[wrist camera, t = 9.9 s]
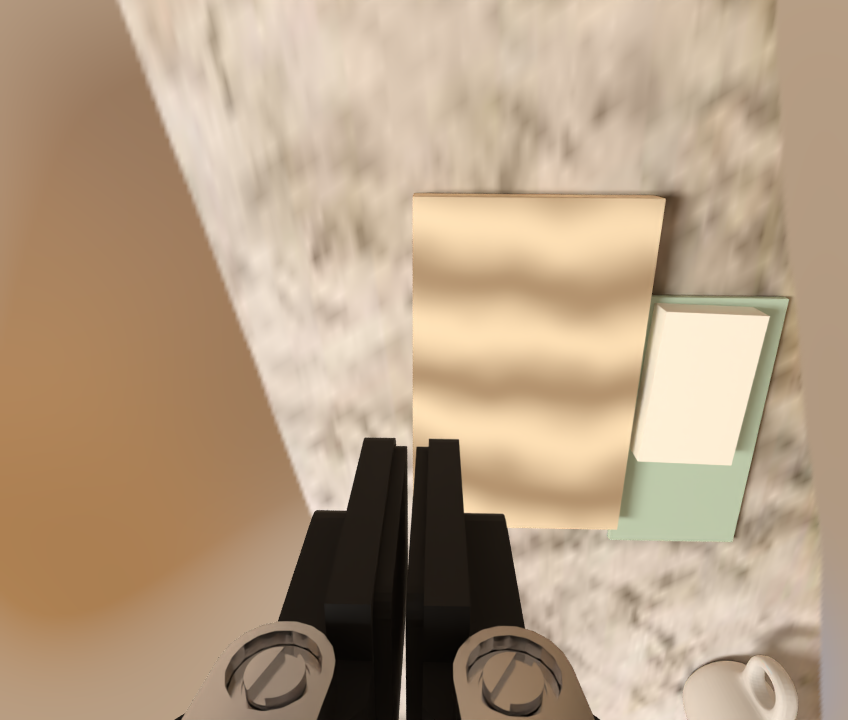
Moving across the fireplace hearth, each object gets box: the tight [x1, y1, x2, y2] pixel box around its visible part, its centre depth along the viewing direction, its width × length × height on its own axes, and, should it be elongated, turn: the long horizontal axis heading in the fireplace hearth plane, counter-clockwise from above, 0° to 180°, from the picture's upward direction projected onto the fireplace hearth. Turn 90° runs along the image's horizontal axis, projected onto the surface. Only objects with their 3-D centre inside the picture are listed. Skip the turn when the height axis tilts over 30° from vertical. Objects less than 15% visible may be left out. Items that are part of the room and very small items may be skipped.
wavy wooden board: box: [413, 193, 666, 530], centre depth 38 cm, size 22×14×2 cm, turn 0°
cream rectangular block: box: [629, 303, 770, 466], centre depth 37 cm, size 10×6×2 cm, turn 178°
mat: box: [607, 295, 789, 542], centre depth 40 cm, size 18×9×1 cm, turn 0°
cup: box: [683, 655, 799, 720], centre depth 44 cm, size 11×8×8 cm
